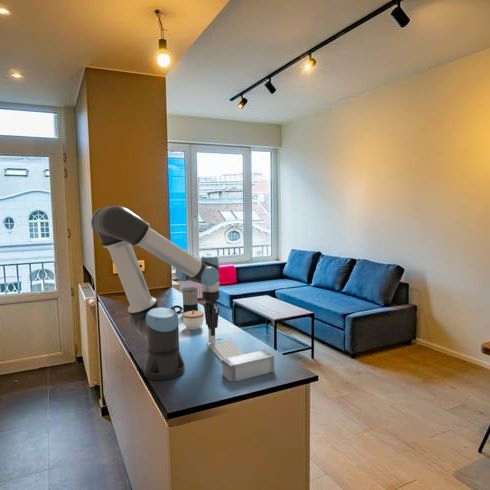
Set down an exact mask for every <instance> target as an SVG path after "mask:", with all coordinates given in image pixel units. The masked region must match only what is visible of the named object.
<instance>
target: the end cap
mask: <svg viewBox="0 0 490 490" xmlns="http://www.w3.org/2000/svg"><path fill="white" fill-rule="evenodd" d="M221 364H222V365H221V366H222V367H221V368H222V376H223V377H224V378H225V379H226V380H228V381H229V383H234V382H238V381H242V380H246V379H249V378H254V377H257V376H262V375H265V374H269V373H274V372H275V355H273V354H272V353H270V352H268V351H267V350H266V349H263V350H258V351H253V352H249V353H244V355H239V356H234V357H230V358H225V359H222V362H221Z"/></svg>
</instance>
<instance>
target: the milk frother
mask: <svg viewBox="0 0 490 490" xmlns="http://www.w3.org/2000/svg"><path fill="white" fill-rule="evenodd" d="M181 290H182V306H181V305H178V304H177V305H173V306H171V307H169V308H170V309H173V310H174V311H176V309H177V308H178V309H179V310H177V311H176V313H177V314H180V313H182V314H183V313H185V312H188V311H192V310H194V311H199V307H198V306H199V303H198V299H199V298H198V290H199V289H198V288H197V287H191V286H190V287H183V288H182V289H181Z"/></svg>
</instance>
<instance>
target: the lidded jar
mask: <svg viewBox="0 0 490 490" xmlns="http://www.w3.org/2000/svg"><path fill="white" fill-rule="evenodd" d="M182 319H183V320H182V322H183V324H184V326H185V327H186V328H187V330H190V331H197V330H199V329H200V328H201V327H202V326H203V323H204V319H205V312H204V311H200V310H198V311H194V310H192V311H188V312H185V313H183V312H182Z"/></svg>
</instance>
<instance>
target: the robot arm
mask: <svg viewBox="0 0 490 490" xmlns="http://www.w3.org/2000/svg"><path fill="white" fill-rule="evenodd" d="M90 225H91V228H92V231H93V232H94V233H95V234H96V235H97V236H98V238H99V241H100V243H101V246H102V247H103V248H105V249H107V250H108V252H109V254H110V257H111V259H112V263H113V265H114V268H115V270H116V273H117V275H118V278H119V280H120V283H121V285H122V288H123V290H124V293H125V296H126V298H127V300H128V303H129V306H128V308H127V311H128V315H129V316H128V317H129V319H128V320H129V324H130V327H131V328H132V329H133V331H134V332H136V334H139V335H140V336H142V337H144V338H145V339H146V345H147V355H146V359H145V362H144V366H143V376H144V377H145V378H147V379H149V380H151V381H152V380H153V381H167V380H172V379H176V378H177V377H179V376H181V375H183V374H184V372H185V370H186V369H185V368H186V367H185V362H184V359H183V357H182V354H181V352H180V335H179V333H180V332H179V330H180V328H179V322H180V321H179V316H178V313H176V312H177V311H176V310H175V311H174V310H173V309H170V308H171V307H160V306H159V304H158V301H157V298H156V297H153V296H151V293H150V290H149V287H148V285H147V282H146V279H145V277H144V274H143V271H142V269H141V267H140V263H139V260H138V259H137V255H136V252H135V250H134V247H136V246H138V247H140V248H142V249H143V250H145V251H147V252H148V253H150V254H152V255H154V256H155V257H156V258H158V259H160V260H161V261H163V262H165V263H166V264H168V265H170V266H172V267H173V268H175V277H176V279H177V280H178V281H179V282H189V281H190V282H193V283H197V284H201V290H202V296H201V297H202V298H201V299H202V300H203V301H205V302H203V303H202V305H203V309H204V311H203V312H204V319H205V325H206V326H207V329H208V331H207V333H208V335H207V336H208V344H211V343H215V342H216V329H217V328H218V324H219V313H220V308H218V304H217V300H219V299H220V290H219V289H220V284H221V283H220V274H219V273H220V269H219V268H220V265H219V263H220V262H219V257H218V256H217V255H210V254H209V255H203V256H201V259H198V258H197V257H195V256H194V255H192V254H191V253H190V252H187V250H184V249H183V248H181V247H180V246H178V245H177V244H175V243H174V242H173V241H171V240H169V239H168V238H166V237H165V236H163V235H162V234H160V233H158V232H157V231H155V229H152V228H151V225H150V223H149V222H147V221H145V219H143V218H142V217H140V216H139V215H137V214H136V213H134V212H133V211H131V210H130V209H128V208H126V207H125V206H121V205H114V206H113V205H107V206H102V207H101V208H98V209H97V210H95V211H94V213H93V214H92V216H91V218H90ZM209 341H210V342H209Z"/></svg>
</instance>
